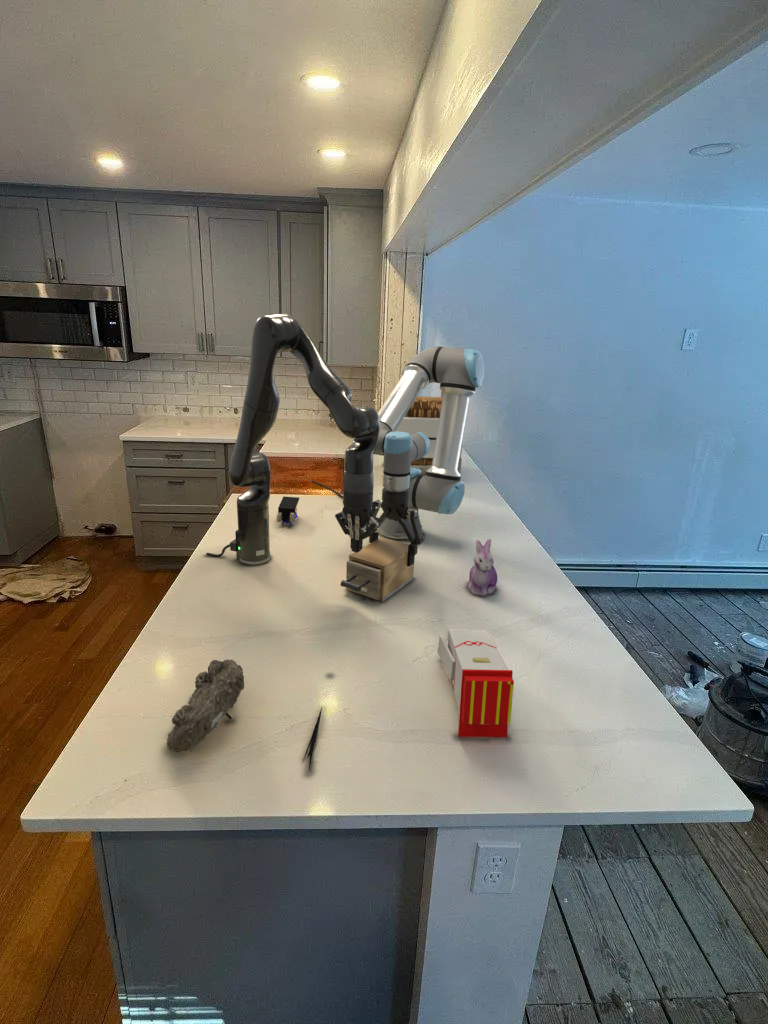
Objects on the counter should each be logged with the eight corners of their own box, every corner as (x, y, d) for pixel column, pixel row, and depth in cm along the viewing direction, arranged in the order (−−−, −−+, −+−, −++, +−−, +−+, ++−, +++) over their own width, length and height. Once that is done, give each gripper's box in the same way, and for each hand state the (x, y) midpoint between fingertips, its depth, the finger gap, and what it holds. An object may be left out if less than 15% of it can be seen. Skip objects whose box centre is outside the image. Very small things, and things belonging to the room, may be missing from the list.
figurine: (479, 599, 156) (485, 549, 151) (458, 584, 165) (463, 536, 160) (506, 593, 161) (512, 544, 155) (484, 578, 169) (490, 531, 164)
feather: (331, 679, 122) (336, 673, 122) (307, 777, 96) (313, 769, 95) (324, 675, 122) (329, 669, 121) (298, 772, 95) (304, 764, 95)
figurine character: (295, 532, 200) (300, 513, 214) (294, 513, 197) (299, 495, 210) (276, 531, 200) (282, 512, 213) (275, 512, 197) (281, 494, 210)
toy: (488, 613, 130) (523, 677, 101) (484, 667, 133) (517, 744, 104) (435, 612, 130) (455, 676, 101) (432, 666, 133) (451, 743, 103)
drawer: (365, 609, 147) (366, 580, 144) (332, 597, 152) (333, 569, 149) (406, 579, 164) (408, 552, 162) (376, 569, 170) (377, 543, 167)
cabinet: (383, 601, 154) (384, 566, 150) (348, 589, 159) (348, 555, 156) (413, 578, 167) (415, 546, 164) (380, 568, 173) (381, 536, 169)
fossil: (192, 660, 117) (244, 628, 112) (224, 691, 120) (276, 661, 115) (142, 746, 98) (202, 712, 93) (182, 779, 101) (242, 748, 96)
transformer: (382, 463, 289) (386, 382, 275) (445, 464, 293) (451, 384, 279) (390, 482, 257) (394, 392, 243) (460, 483, 261) (468, 394, 247)
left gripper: (327, 486, 142) (327, 549, 147) (372, 496, 135) (369, 562, 141) (345, 479, 148) (344, 540, 153) (388, 489, 141) (385, 553, 147)
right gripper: (352, 483, 161) (351, 553, 168) (427, 500, 149) (422, 574, 157) (367, 477, 167) (365, 545, 174) (440, 493, 155) (434, 565, 163)
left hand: (356, 551), depth 147 cm, fingers closed
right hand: (392, 559), depth 165 cm, fingers open, 12 cm apart
